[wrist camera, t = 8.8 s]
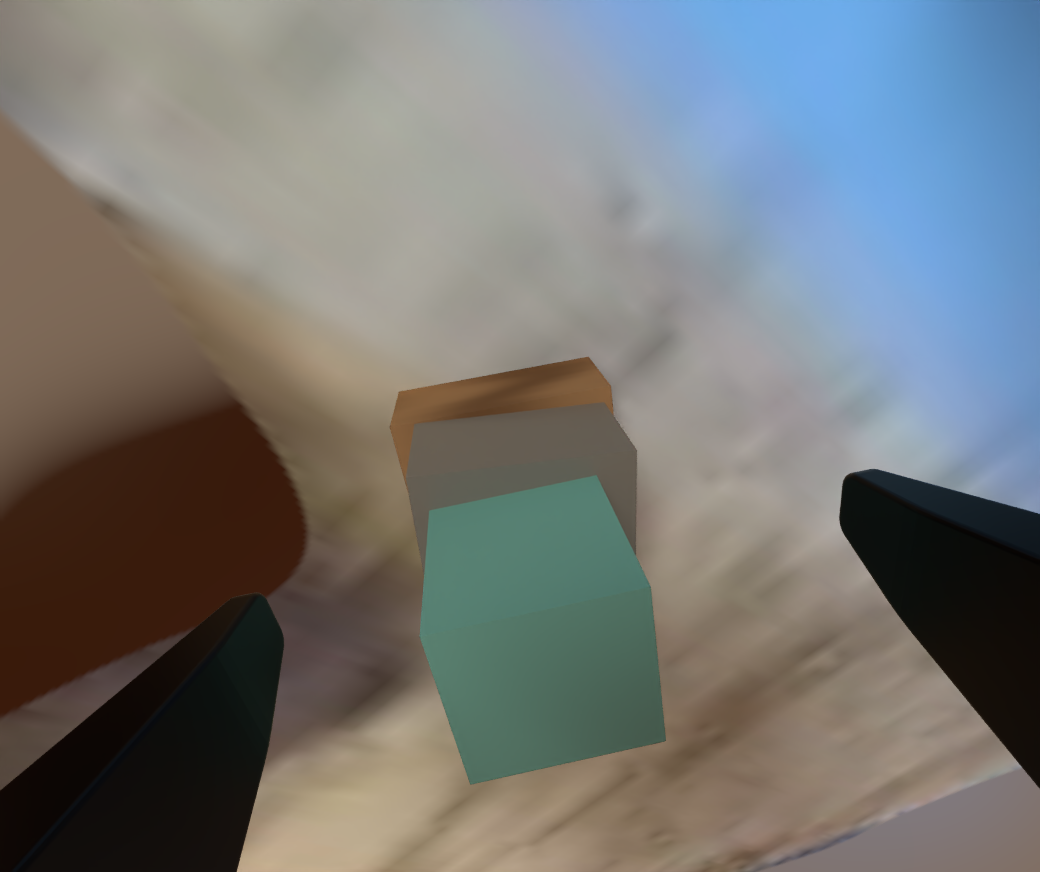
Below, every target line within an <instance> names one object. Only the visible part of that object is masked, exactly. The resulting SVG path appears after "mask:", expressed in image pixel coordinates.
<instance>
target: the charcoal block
mask: <svg viewBox="0 0 1040 872" xmlns="http://www.w3.org/2000/svg"><path fill="white" fill-rule="evenodd" d="M595 475H597V477H598V479H599V481H600V483H601V485H602V487H603V490H604V492H605V494H606V496H607V498H608V500H609V502H610V504H611V506H612V508H613V510H614V512H615V514H616V516H617V518H618V520H619V523H620V525H621V527H622V529H623V531H624V533H625V535H626V537H627V539H628V541H629V543H630V545H631V547H632V549H633V551H634V554H635V556H636V479H637V450H636V448H635V447H634V445H633V444H632V442H631V441H630V439H629V438H628V436H627V435H626V433H625V432H624V431H623V429H622V428H621V426H620V425H619V423H618V422H617V420H616V419H615V417H614V416H613V414H612V413H611V411H610V410H609V408H608V407H607V406H606V404H605V403H604V402H601V403H592V404H583V405H574V406H566V407H557V408H548V409H539V410H531V411H522V412H513V413H504V414H496V415H487V416H478V417H469V418H461V419H452V420H443V421H434V422H426V423H417V424H414V429H413V435H412V442H411V448H410V454H409V460H408V467H407V473H406V482H407V487H408V493H409V498H410V503H411V509H412V514H413V519H414V525H415V530H416V535H417V541H418V546H419V551H420V557H421V562H422V567H423V573H425V560H426V546H427V533H428V519H429V511H430V510H434V509H439V508H444V507H449V506H453V505H458V504H463V503H468V502H472V501H477V500H482V499H486V498H491V497H496V496H501V495H505V494H510V493H515V492H520V491H524V490H529V489H534V488H538V487H543V486H548V485H553V484H557V483H562V482H567V481H572V480H576V479H581V478H586V477H590V476H595Z"/></svg>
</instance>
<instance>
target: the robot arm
mask: <svg viewBox="0 0 1040 872" xmlns="http://www.w3.org/2000/svg"><path fill="white" fill-rule="evenodd" d="M839 520H840V526H841V529H842V531H843V533H844V535H845V537H846V538H847V540H848V541H849V543H850V544H851V546H852V547H853V549H854V550H855V552H856V553H857V555H858V556H859V558H860V559H861V561H862V562H863V564H864V565H865V567H866V568H867V570H868V571H869V573H870V574H871V576H872V577H873V579H874V580H875V582H876V583H877V585H878V586H879V588H880V589H881V591H882V593H883V594H884V596H885V597H886V599H887V600H888V602H889V603H890V604H891V606H892V607H893V609H894V610H895V611H896V613H897V614H898V616H899V617H900V618H901V620H902V621H903V622H904V623H905V625H906V626H907V627H908V629H909V630H910V631H911V632H912V634H913V635H914V636H915V637H916V638H917V640H918V641H919V642H920V643H921V645H922V646H923V647H924V648H925V649H926V651H927V652H928V653H929V654H930V656H931V657H932V658H933V659H934V660H935V662H936V663H937V664H938V665H939V667H940V668H941V669H942V670H943V671H944V673H945V674H946V675H947V676H948V678H949V679H950V680H951V681H952V682H953V684H954V685H955V686H956V687H957V688H958V690H959V691H960V692H961V693H962V695H963V696H964V697H965V698H966V699H967V701H968V702H969V703H970V704H971V706H972V707H973V708H974V709H975V710H976V712H977V713H978V714H979V715H980V717H981V718H982V719H983V720H984V721H985V723H986V724H987V725H988V726H989V727H990V729H991V730H992V731H993V732H994V734H995V735H996V736H997V737H998V738H999V740H1000V741H1001V742H1002V743H1003V745H1004V746H1005V747H1006V748H1007V749H1008V751H1009V752H1010V753H1011V754H1012V756H1013V757H1014V758H1015V759H1016V760H1017V762H1018V763H1019V764H1020V765H1021V766H1022V768H1023V769H1024V770H1025V771H1026V773H1027V774H1028V775H1029V776H1030V777H1031V779H1032V780H1033V781H1034V782H1035V783H1036V785H1037V786H1038V787H1039V788H1040V514H1038V513H1035V512H1031V511H1027V510H1024V509H1020V508H1017V507H1013V506H1009V505H1006V504H1002V503H998V502H995V501H991V500H987V499H984V498H980V497H976V496H973V495H969V494H965V493H962V492H958V491H955V490H951V489H947V488H944V487H940V486H936V485H933V484H929V483H925V482H922V481H918V480H914V479H911V478H907V477H903V476H900V475H896V474H893V473H889V472H885V471H882V470H878V469H869V470H864V471H859V472H854V473H850V474H848V475H847V476H846V477H845V478H844V480H843V486H842V496H841V506H840V516H839ZM283 650H284V638H283V633H282V630H281V628H280V626H279V624H278V622H277V620H276V618H275V616H274V614H273V612H272V610H271V608H270V606H269V604H268V602H267V600H266V598H265V597H264V596H263V595H262V594H260V593H252V594H246V595H242V596H237V597H233V598H231V599H230V600H229V601H227V602H226V603H225V604H224V605H222V606H221V607H220V608H219V609H218V610H216V611H215V612H214V613H213V614H211V615H210V616H209V617H208V618H207V619H206V620H204V621H203V622H202V623H201V624H199V625H198V626H197V627H196V628H195V629H193V630H192V631H191V632H190V633H189V634H187V635H186V636H185V637H184V638H183V639H181V640H180V641H179V642H178V643H177V644H175V645H174V646H173V647H172V648H171V649H169V650H168V651H167V652H166V653H165V654H163V655H162V656H161V657H160V658H159V659H157V660H156V661H155V662H154V663H153V664H151V665H150V666H149V667H148V668H147V669H145V670H144V671H143V672H142V673H141V674H139V675H138V676H137V677H136V678H135V679H133V680H132V681H131V682H130V683H129V684H127V685H126V686H125V687H124V688H123V689H121V690H120V691H119V692H118V693H117V694H115V695H114V696H113V697H112V698H111V699H109V700H108V701H107V702H106V703H105V704H103V705H102V706H101V707H100V708H99V709H97V710H96V711H95V712H94V713H93V714H91V715H90V716H89V717H88V718H87V719H85V720H84V721H83V722H82V723H81V724H79V725H78V726H77V727H76V728H75V729H73V730H72V731H71V732H70V733H69V734H67V735H66V736H65V737H64V738H63V739H61V740H60V741H59V742H58V743H57V744H55V745H54V746H53V747H52V748H51V749H49V750H48V751H47V752H46V753H45V754H43V755H42V756H41V757H40V758H39V759H37V760H36V761H35V762H34V763H33V764H31V765H30V766H29V767H28V768H27V769H25V770H24V771H23V772H22V773H21V774H19V775H18V776H17V777H16V778H15V779H13V780H12V781H11V782H10V783H9V784H7V785H6V786H5V787H4V788H3V789H1V790H0V872H237V868H238V865H239V861H240V857H241V853H242V849H243V845H244V841H245V837H246V834H247V830H248V826H249V822H250V818H251V814H252V810H253V806H254V803H255V799H256V795H257V791H258V787H259V783H260V779H261V776H262V772H263V768H264V764H265V760H266V755H267V751H268V747H269V742H270V736H271V731H272V724H273V717H274V711H275V704H276V697H277V690H278V684H279V677H280V670H281V663H282V657H283Z"/></svg>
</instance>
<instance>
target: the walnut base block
mask: <svg viewBox="0 0 1040 872" xmlns="http://www.w3.org/2000/svg"><path fill="white" fill-rule="evenodd" d="M601 402H604V403H605V404H606V406H607V407H608V408H609V410H610V411H611V413H612V414H613V404H612V394H611V386H610V384H609V383H608V382H607V380H606V379H605V378H604V376H603V375H602V374H601V372H600V371H599V370H598V369H597V367H596V366H595V365H594V363H593V362H592V361H591V359H590V358H589V357H585V358H579V359H574V360H569V361H563V362H558V363H552V364H547V365H542V366H536V367H531V368H525V369H520V370H515V371H509V372H504V373H498V374H493V375H488V376H482V377H477V378H471V379H466V380H461V381H455V382H450V383H444V384H439V385H434V386H428V387H423V388H417V389H412V390H407V391H401V392H399V394H398V398H397V401H396V405H395V409H394V413H393V417H392V421H391V425H390V429H391V433H392V437H393V440H394V444H395V447H396V451H397V454H398V458H399V461H400V465H401V469H402V472H403V476H404V479H405V483H406V486H407V482H406V473H407V467H408V460H409V454H410V448H411V442H412V435H413V429H414V424H417V423H426V422H434V421H443V420H452V419H461V418H469V417H478V416H487V415H496V414H504V413H513V412H522V411H531V410H539V409H548V408H557V407H566V406H574V405H583V404H592V403H601ZM613 416H614V415H613ZM407 490H408V487H407Z"/></svg>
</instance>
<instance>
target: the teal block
mask: <svg viewBox="0 0 1040 872" xmlns="http://www.w3.org/2000/svg"><path fill="white" fill-rule="evenodd" d="M420 639H421V642H422V645H423V648H424V651H425V653H426V656H427V659H428V662H429V665H430V668H431V671H432V674H433V677H434V680H435V683H436V686H437V689H438V691H439V694H440V697H441V700H442V703H443V706H444V709H445V712H446V715H447V718H448V721H449V724H450V727H451V729H452V732H453V735H454V738H455V741H456V744H457V747H458V750H459V753H460V756H461V759H462V762H463V765H464V768H465V770H466V773H467V776H468V779H469V782H470V785H471V784H475V783H480V782H484V781H489V780H493V779H498V778H502V777H507V776H511V775H516V774H520V773H525V772H529V771H534V770H538V769H543V768H547V767H552V766H556V765H561V764H565V763H570V762H574V761H579V760H583V759H588V758H592V757H597V756H601V755H606V754H610V753H615V752H619V751H624V750H628V749H633V748H637V747H642V746H646V745H651V744H655V743H660V742H664V741H666V737H665V727H664V717H663V707H662V696H661V686H660V676H659V666H658V656H657V646H656V636H655V626H654V616H653V606H652V596H651V587H650V585H649V582H648V580H647V578H646V576H645V574H644V572H643V570H642V568H641V566H640V564H639V562H638V560H637V558H636V556H635V554H634V551H633V549H632V547H631V545H630V543H629V541H628V539H627V537H626V535H625V533H624V531H623V529H622V527H621V525H620V523H619V520H618V518H617V516H616V514H615V512H614V510H613V508H612V506H611V504H610V502H609V500H608V498H607V496H606V494H605V492H604V490H603V487H602V485H601V483H600V481H599V479H598V477H597V475H595V476H590V477H586V478H581V479H576V480H572V481H567V482H562V483H557V484H553V485H548V486H543V487H538V488H534V489H529V490H524V491H520V492H515V493H510V494H505V495H501V496H496V497H491V498H486V499H482V500H477V501H472V502H468V503H463V504H458V505H453V506H449V507H444V508H439V509H434V510H430V511H429V519H428V533H427V546H426V560H425V573H424V586H423V600H422V613H421V627H420Z"/></svg>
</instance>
